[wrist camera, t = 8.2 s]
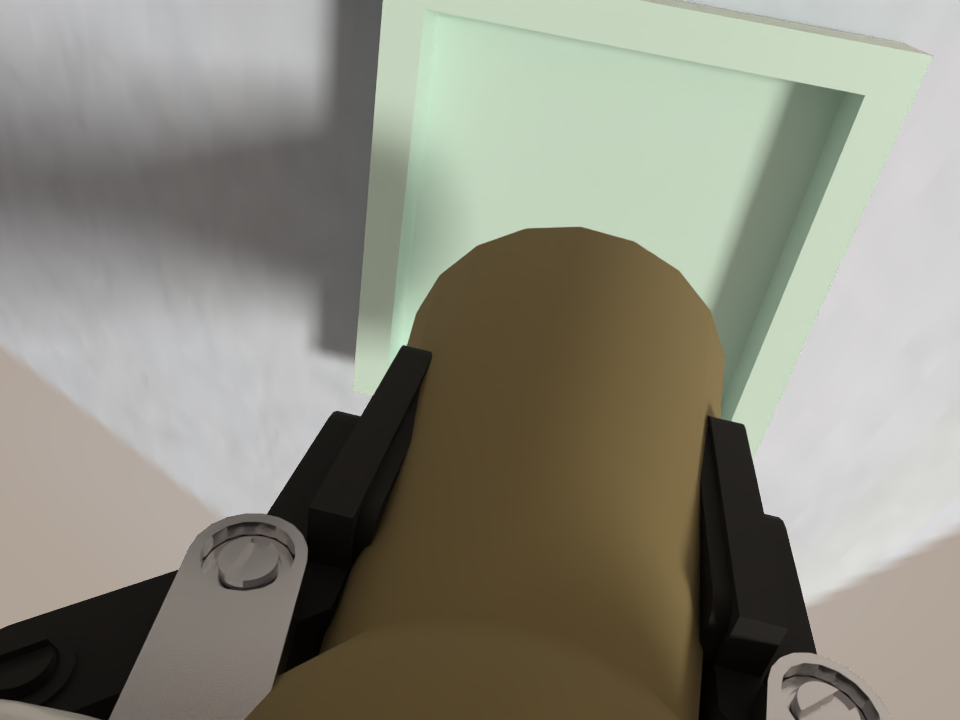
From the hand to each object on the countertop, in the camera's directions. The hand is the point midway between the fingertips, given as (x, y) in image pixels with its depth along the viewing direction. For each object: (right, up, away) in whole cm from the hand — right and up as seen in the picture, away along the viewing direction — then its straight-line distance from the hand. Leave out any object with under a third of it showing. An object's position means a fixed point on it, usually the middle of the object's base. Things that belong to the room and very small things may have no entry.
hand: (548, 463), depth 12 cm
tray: (+2, +5, +9) cm, 11 cm away
